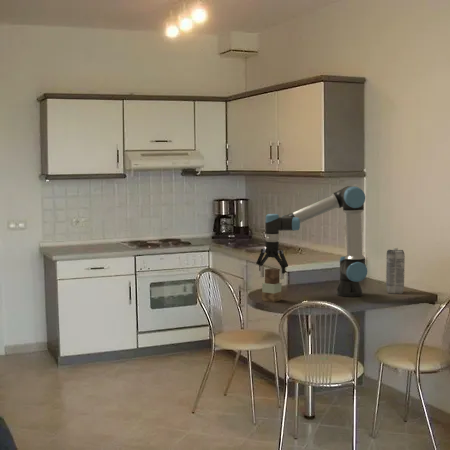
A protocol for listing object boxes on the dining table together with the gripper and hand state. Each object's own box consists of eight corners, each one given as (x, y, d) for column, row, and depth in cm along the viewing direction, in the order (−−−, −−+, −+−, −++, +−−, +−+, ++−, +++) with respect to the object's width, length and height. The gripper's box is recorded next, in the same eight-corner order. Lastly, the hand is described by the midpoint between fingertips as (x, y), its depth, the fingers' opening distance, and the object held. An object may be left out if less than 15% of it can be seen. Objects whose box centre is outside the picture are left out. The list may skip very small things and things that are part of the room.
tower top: (281, 291, 409) (281, 282, 408) (274, 293, 402) (274, 284, 402) (269, 290, 413) (269, 281, 413) (262, 292, 407) (262, 283, 406)
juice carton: (404, 294, 424) (405, 249, 422) (386, 293, 426) (386, 248, 424) (403, 291, 433) (404, 247, 431) (385, 291, 435) (386, 247, 433)
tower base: (281, 300, 409) (281, 291, 408) (273, 302, 402) (273, 293, 402) (269, 298, 414) (269, 290, 413) (262, 300, 407) (262, 292, 407)
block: (279, 282, 408) (279, 269, 407) (273, 284, 403) (273, 270, 402) (270, 281, 411) (270, 268, 411) (264, 283, 407) (264, 269, 406)
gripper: (250, 240, 410) (250, 276, 412) (287, 243, 395) (287, 281, 397) (257, 239, 416) (257, 275, 418) (294, 241, 401) (294, 279, 403)
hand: (272, 278), depth 407 cm, fingers open, 13 cm apart
